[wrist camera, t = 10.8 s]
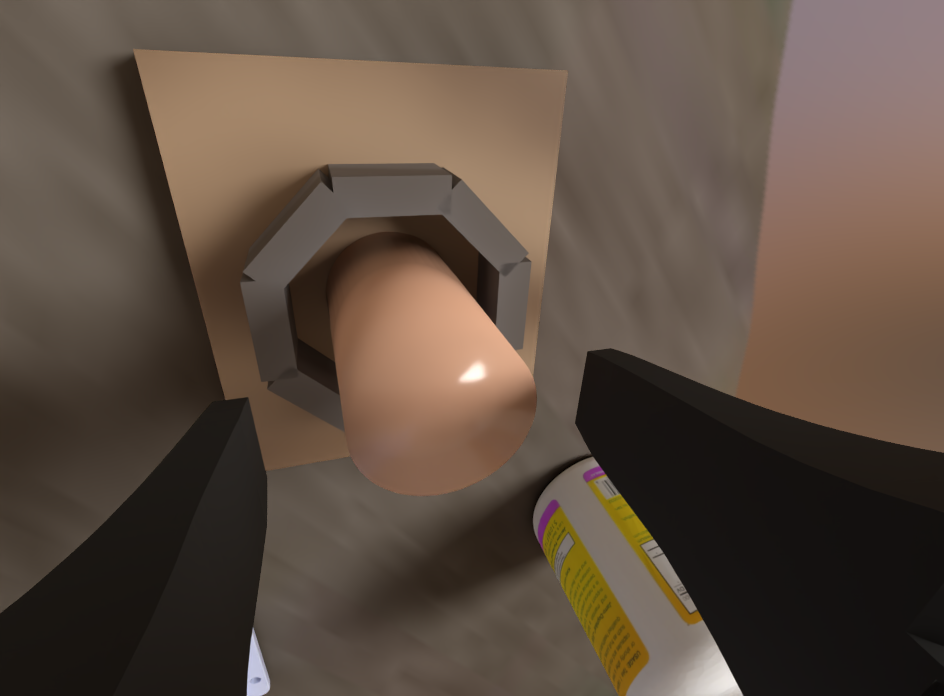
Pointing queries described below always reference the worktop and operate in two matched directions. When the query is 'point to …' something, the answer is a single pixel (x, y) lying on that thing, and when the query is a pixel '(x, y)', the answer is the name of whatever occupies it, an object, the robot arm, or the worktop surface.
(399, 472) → the peach rounded peg
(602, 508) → the supplement bottle
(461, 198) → the octagonal holder plate
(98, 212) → the worktop surface
